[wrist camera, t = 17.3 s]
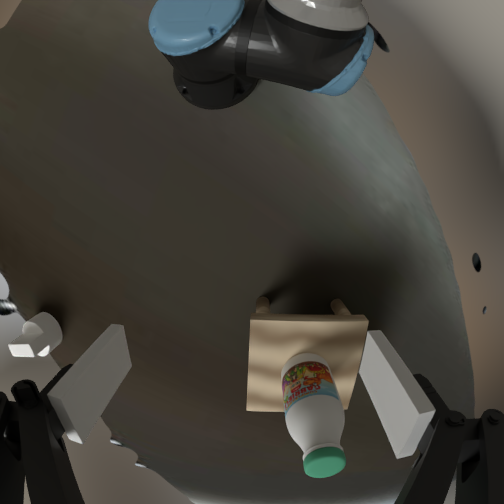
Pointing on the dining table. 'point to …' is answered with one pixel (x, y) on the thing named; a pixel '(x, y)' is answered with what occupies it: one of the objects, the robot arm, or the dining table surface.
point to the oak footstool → (301, 350)
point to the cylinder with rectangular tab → (37, 337)
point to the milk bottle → (314, 413)
